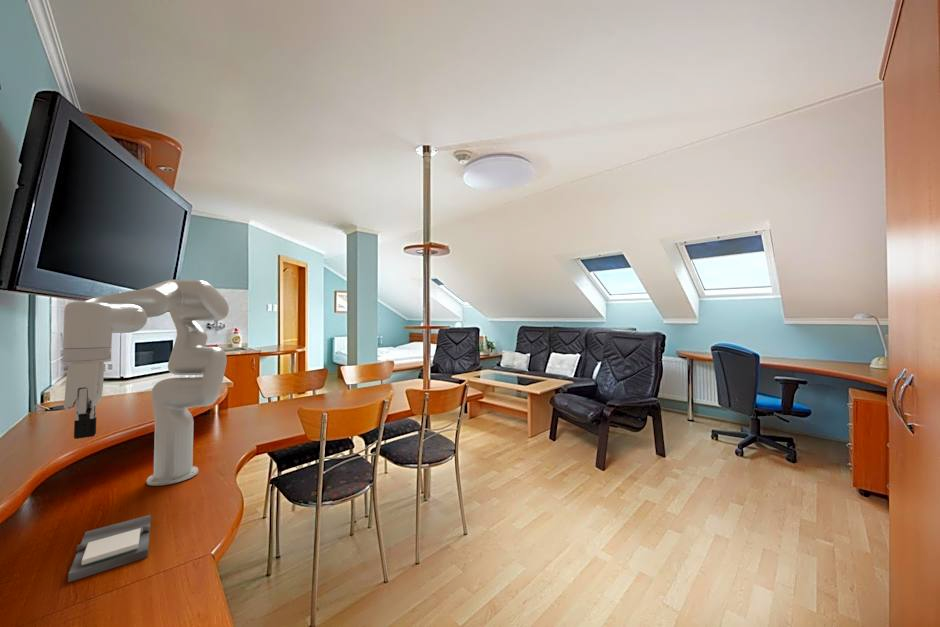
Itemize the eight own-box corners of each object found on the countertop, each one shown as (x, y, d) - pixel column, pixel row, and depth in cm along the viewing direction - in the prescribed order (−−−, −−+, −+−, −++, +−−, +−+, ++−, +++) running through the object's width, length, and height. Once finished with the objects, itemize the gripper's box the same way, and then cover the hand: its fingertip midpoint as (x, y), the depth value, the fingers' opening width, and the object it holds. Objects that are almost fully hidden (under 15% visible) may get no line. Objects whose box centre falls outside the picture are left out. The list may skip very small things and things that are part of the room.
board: (84, 538, 79) (84, 526, 79) (151, 520, 86) (151, 509, 87) (67, 582, 66) (67, 567, 66) (148, 556, 73) (148, 543, 73)
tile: (81, 560, 68) (81, 566, 68) (138, 543, 73) (138, 549, 73) (88, 542, 73) (88, 548, 73) (140, 527, 79) (140, 533, 78)
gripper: (70, 354, 83) (67, 432, 82) (54, 359, 72) (51, 449, 71) (114, 353, 88) (112, 426, 87) (107, 356, 77) (104, 441, 76)
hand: (85, 436), depth 79 cm, fingers closed
